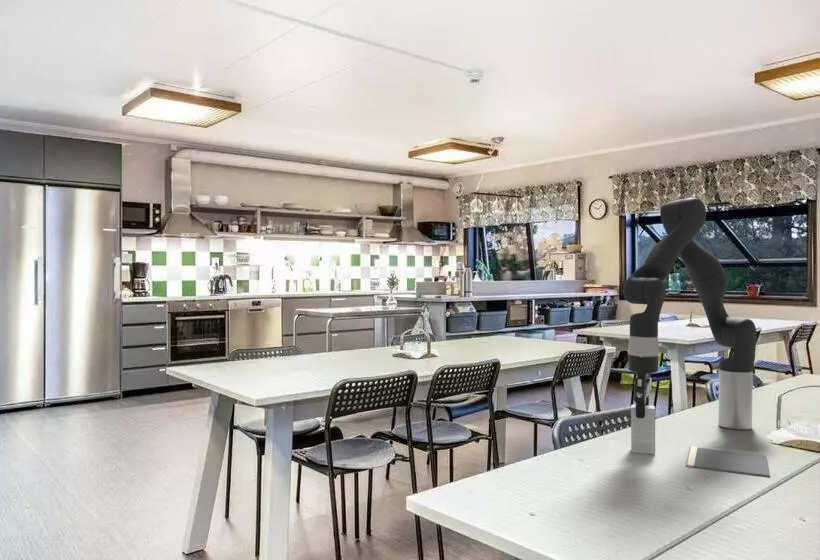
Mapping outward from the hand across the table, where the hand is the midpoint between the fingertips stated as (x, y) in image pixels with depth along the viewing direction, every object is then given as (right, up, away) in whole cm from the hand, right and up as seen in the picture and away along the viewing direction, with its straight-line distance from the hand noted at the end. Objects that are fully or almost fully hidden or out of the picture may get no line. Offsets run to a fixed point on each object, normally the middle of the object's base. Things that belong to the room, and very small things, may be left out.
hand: (642, 414), depth 172 cm
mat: (+18, -10, -9) cm, 22 cm away
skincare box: (0, -10, 0) cm, 10 cm away
